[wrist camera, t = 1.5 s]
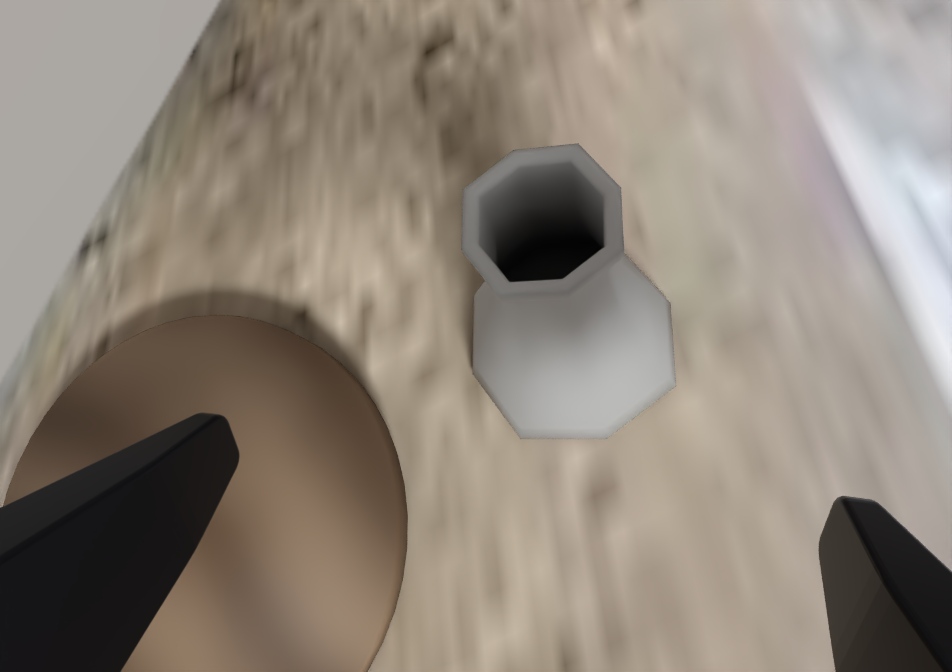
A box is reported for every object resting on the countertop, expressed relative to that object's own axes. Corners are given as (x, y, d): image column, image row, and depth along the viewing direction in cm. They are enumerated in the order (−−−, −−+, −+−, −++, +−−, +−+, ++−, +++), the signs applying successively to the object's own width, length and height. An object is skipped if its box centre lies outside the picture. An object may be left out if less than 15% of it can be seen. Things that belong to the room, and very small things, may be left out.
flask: (446, 286, 22) (325, 136, 12) (630, 216, 21) (651, -2, 12) (504, 473, 20) (413, 464, 10) (713, 404, 19) (822, 325, 9)
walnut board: (228, 898, 18) (203, 926, 17) (-47, 588, 23) (-81, 593, 22) (494, 462, 20) (488, 462, 19) (184, 257, 25) (163, 246, 24)
